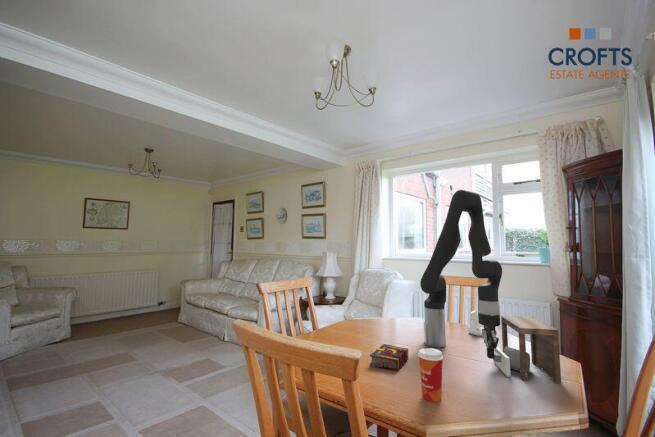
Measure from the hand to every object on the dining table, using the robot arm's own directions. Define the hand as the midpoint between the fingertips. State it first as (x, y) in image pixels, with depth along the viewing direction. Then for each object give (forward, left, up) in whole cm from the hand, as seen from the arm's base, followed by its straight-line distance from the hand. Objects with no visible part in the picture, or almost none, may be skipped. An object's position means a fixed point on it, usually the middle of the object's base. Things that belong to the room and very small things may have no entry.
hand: (490, 357), depth 116 cm
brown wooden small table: (+13, 0, -4) cm, 14 cm away
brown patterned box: (-38, -1, -4) cm, 38 cm away
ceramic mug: (+10, +2, -4) cm, 11 cm away
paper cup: (-26, -27, -4) cm, 37 cm away
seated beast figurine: (+7, +46, -4) cm, 47 cm away
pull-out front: (+3, 0, -4) cm, 5 cm away
